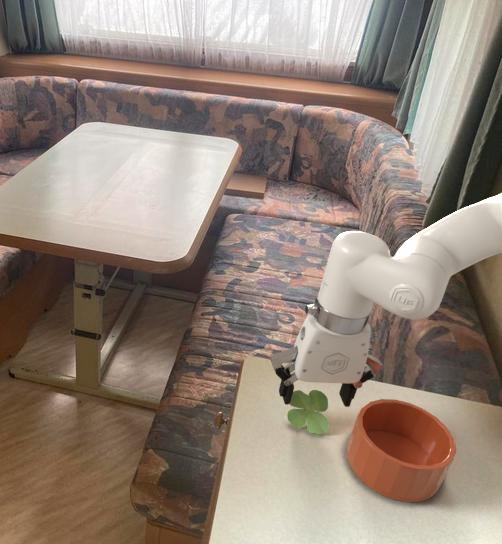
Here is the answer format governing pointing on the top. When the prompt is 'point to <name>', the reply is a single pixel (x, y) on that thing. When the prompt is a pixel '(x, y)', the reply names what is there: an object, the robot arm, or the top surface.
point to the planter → (400, 450)
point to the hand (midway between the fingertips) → (314, 399)
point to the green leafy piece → (309, 411)
